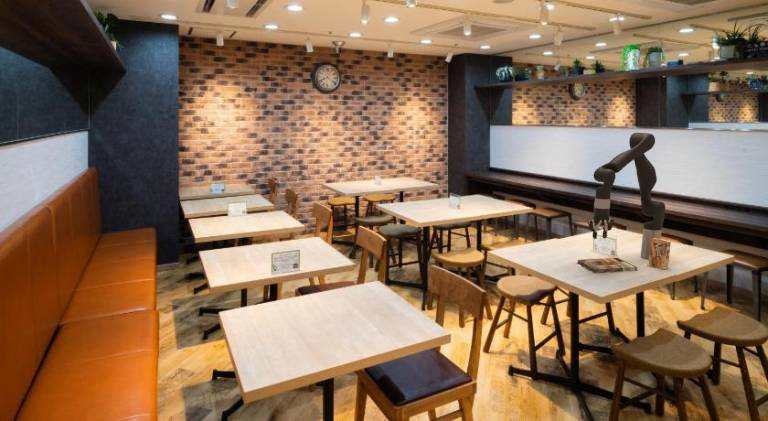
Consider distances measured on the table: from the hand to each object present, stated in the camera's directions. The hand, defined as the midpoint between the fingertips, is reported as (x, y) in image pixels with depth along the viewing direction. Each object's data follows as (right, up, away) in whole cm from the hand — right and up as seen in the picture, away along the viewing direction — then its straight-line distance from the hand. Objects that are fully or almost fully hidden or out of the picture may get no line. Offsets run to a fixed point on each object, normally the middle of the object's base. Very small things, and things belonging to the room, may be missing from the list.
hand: (599, 238), depth 255 cm
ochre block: (+7, -15, +4) cm, 17 cm away
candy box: (+35, -16, +6) cm, 39 cm away
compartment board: (+7, -16, +8) cm, 19 cm away
